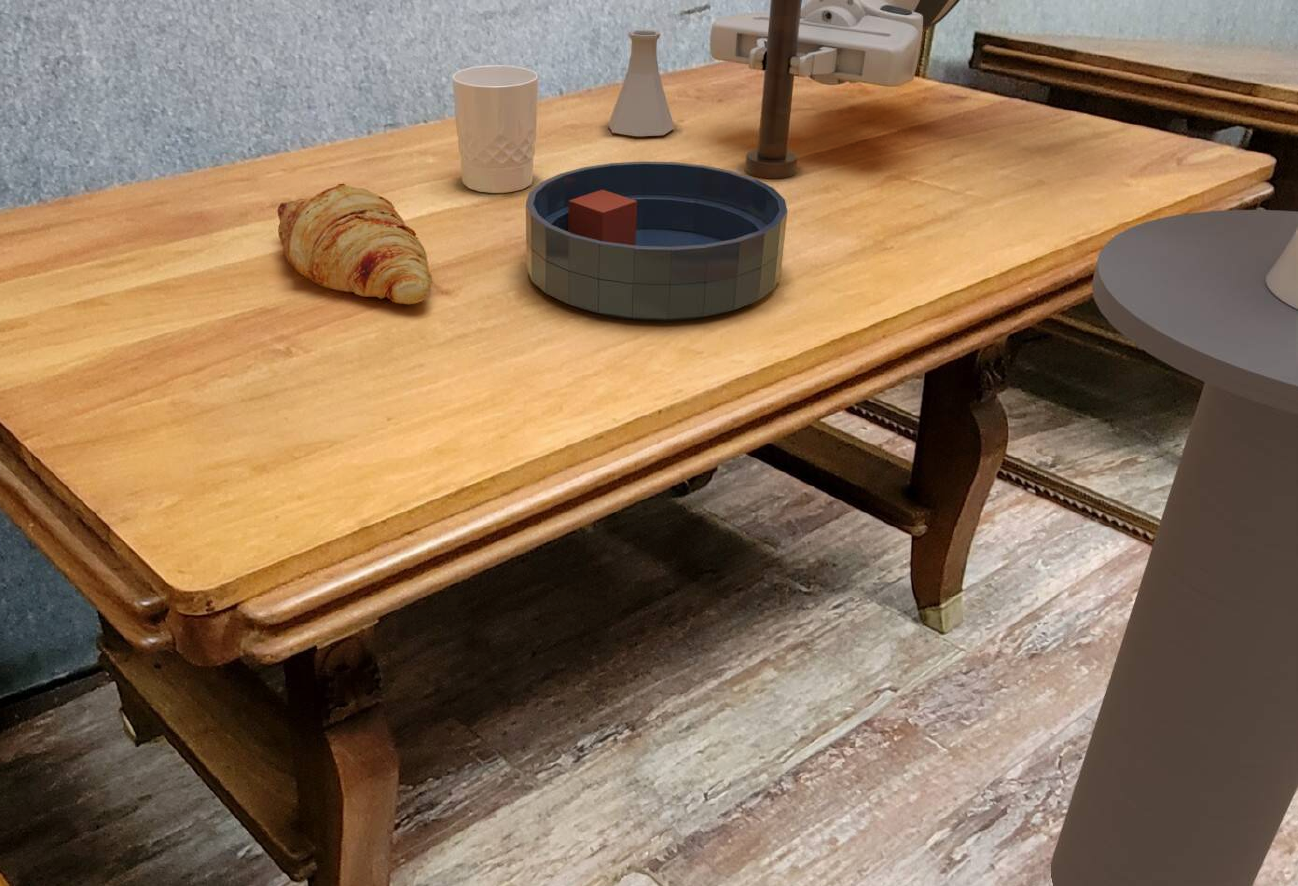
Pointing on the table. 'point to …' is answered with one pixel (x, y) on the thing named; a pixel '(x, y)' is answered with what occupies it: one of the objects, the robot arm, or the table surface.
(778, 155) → the rod
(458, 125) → the white cup
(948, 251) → the table surface
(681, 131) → the table surface
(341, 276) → the croissant
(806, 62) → the robot arm
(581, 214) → the block
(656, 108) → the flask
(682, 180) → the bowl
